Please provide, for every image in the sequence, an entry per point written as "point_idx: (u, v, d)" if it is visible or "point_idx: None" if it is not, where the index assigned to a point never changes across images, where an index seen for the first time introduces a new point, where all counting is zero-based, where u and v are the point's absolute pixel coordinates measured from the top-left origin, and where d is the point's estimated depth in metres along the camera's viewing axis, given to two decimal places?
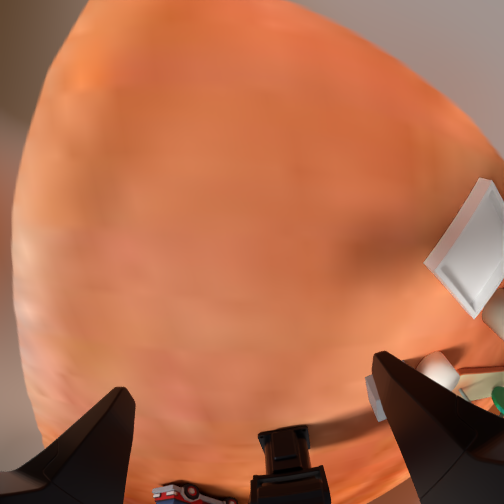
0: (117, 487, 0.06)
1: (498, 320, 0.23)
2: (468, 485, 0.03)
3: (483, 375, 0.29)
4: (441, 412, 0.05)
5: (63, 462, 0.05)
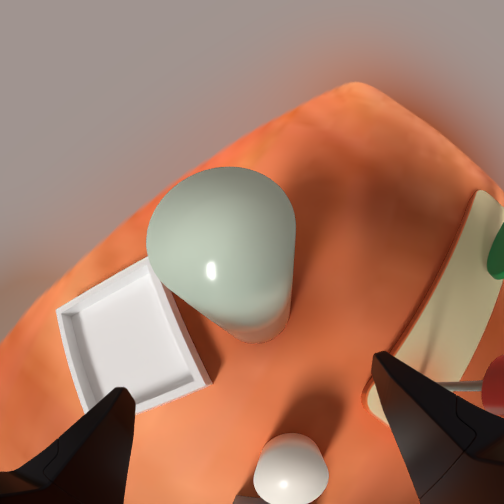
0: (117, 487, 0.06)
1: (231, 334, 0.17)
2: (468, 485, 0.03)
3: (423, 319, 0.18)
4: (441, 412, 0.05)
5: (63, 462, 0.05)
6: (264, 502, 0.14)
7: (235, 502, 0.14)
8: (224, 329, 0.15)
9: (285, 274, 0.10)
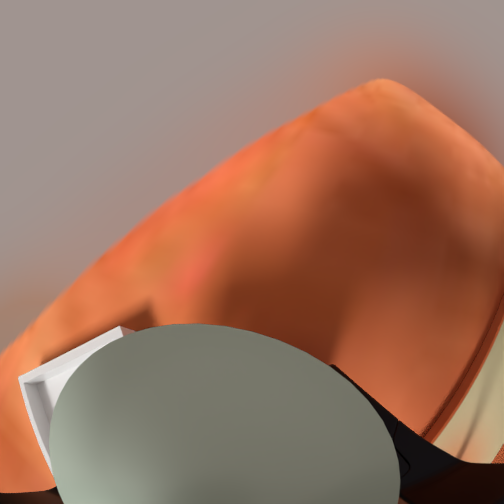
0: None
1: None
2: None
3: (471, 394, 0.11)
4: None
5: None
6: None
7: None
8: None
9: None
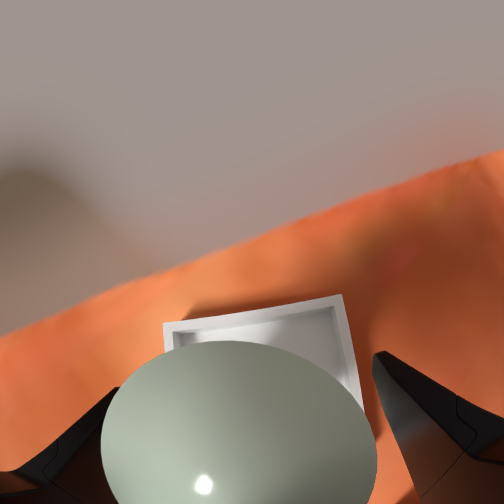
0: None
1: None
2: (468, 485, 0.03)
3: None
4: (441, 412, 0.05)
5: (63, 462, 0.05)
6: None
7: None
8: None
9: None
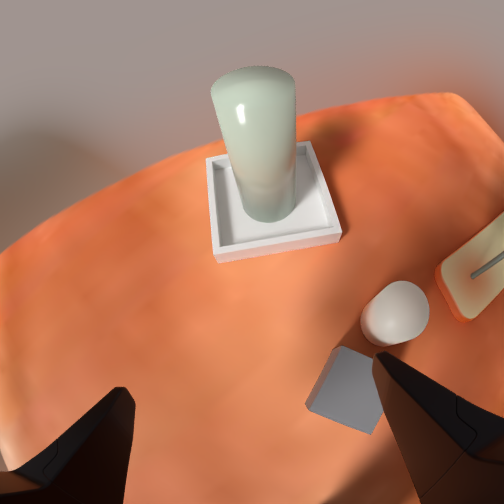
0: (117, 487, 0.06)
1: (251, 200, 0.23)
2: (468, 485, 0.03)
3: (480, 236, 0.22)
4: (441, 412, 0.05)
5: (63, 462, 0.05)
6: None
7: (337, 348, 0.20)
8: (248, 184, 0.21)
9: (290, 109, 0.15)
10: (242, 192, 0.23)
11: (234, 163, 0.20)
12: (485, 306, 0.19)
